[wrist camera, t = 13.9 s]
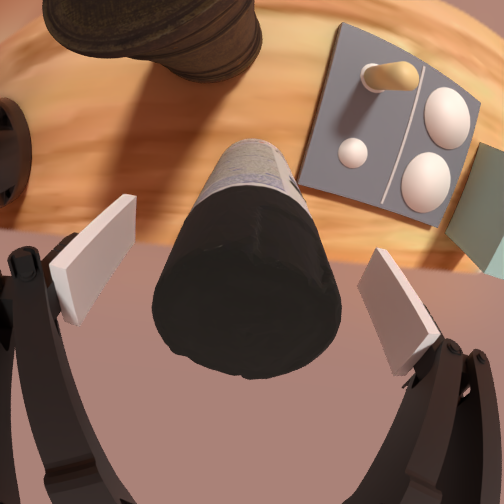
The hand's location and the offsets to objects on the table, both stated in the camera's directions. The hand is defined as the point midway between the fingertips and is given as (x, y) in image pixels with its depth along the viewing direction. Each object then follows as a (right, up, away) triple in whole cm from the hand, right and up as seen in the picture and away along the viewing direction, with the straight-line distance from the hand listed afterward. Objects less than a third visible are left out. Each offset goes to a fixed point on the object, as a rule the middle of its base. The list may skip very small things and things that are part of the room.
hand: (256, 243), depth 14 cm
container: (-4, +19, +5) cm, 20 cm away
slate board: (+15, +12, +9) cm, 21 cm away
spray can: (0, +8, +12) cm, 14 cm away
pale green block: (+29, +7, +12) cm, 32 cm away
